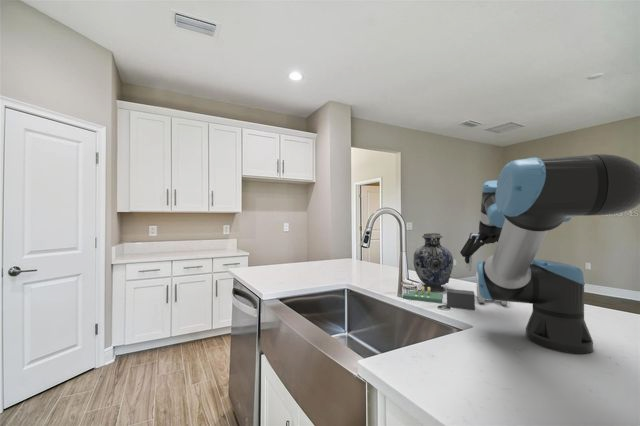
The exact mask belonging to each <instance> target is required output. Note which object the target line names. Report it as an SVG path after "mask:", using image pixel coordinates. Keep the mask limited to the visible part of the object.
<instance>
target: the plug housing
mask: <svg viewBox="0 0 640 426" xmlns="http://www.w3.org/2000/svg"><path fill="white" fill-rule="evenodd" d="M475 297H476V294H475V292H474V291H473V290H463V289H455V288H446V307H447V308H456V309H463V310H464V309H465V310H472V311H475V309H476V307H475V305H476V298H475Z"/></svg>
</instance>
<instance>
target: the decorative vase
mask: <svg viewBox="0 0 640 426" xmlns="http://www.w3.org/2000/svg"><path fill="white" fill-rule="evenodd" d="M421 237H422V238H423V239H424V245H423V246H419V247H418V248H416V249H415V251H414V253H413V267H414V270H415V273H416V276H417V277H418V278H419V280H420V281H421V282H422V283H423V285H422V286H424V289H425V290H424V291H427V287H430V292H434V291H440V292H444V291H445V287H444V285H446V284H449V282H450V279H451V274H452V271H453V266H454V257H453V253H452V251H450V250H449V249H448V248H446V247H444V246H442V245H441V238H443V236H442V235H441V233H435V232H433V233H432V232H431V233H423V235H422V236H421ZM443 290H444V291H443Z"/></svg>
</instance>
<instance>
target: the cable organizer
mask: <svg viewBox="0 0 640 426" xmlns="http://www.w3.org/2000/svg"><path fill="white" fill-rule="evenodd" d="M475 278H476V296H477V299H478V303H480V304H484V303H485V301H486V299H484V298H482V297H481V295H480V290H479V282H478V271H476V273H475ZM487 300H488V299H487ZM489 301H490V300H488V302H489ZM500 302H501V304H502V306H506V305H508V301H500Z"/></svg>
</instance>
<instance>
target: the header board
mask: <svg viewBox="0 0 640 426" xmlns="http://www.w3.org/2000/svg"><path fill="white" fill-rule="evenodd" d="M443 295H444V294H443V293H437V292H431V291H430V287H427V290H426V291H425V290H424V286H423V285H422V286H421V291H416V290H411V291H410V293H409V294H407V293H405V292H404V293H403V295H402V299H403V300H404V299H406V300H412V301H420V302H430V303H436V304H443V297H444V296H443Z"/></svg>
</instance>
